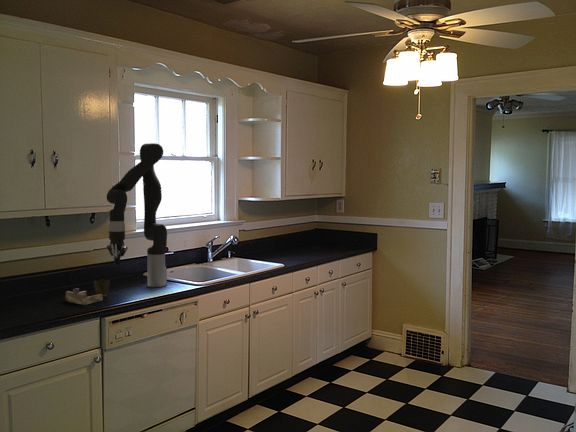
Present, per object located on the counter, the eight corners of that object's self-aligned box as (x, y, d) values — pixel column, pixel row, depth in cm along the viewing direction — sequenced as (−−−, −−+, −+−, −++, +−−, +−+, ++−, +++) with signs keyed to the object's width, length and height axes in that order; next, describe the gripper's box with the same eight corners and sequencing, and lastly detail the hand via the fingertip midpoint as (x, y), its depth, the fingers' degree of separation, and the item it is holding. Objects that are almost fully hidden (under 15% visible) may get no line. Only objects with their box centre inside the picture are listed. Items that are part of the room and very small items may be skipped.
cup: (104, 294, 276) (104, 278, 275) (113, 296, 271) (113, 280, 270) (91, 297, 270) (90, 280, 269) (99, 299, 265) (99, 282, 265)
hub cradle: (84, 297, 270) (84, 283, 269) (102, 300, 263) (102, 286, 262) (65, 301, 260) (64, 287, 260) (83, 305, 253) (83, 290, 253)
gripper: (132, 230, 276) (132, 265, 277) (113, 228, 283) (114, 262, 284) (120, 231, 269) (120, 267, 271) (101, 229, 276) (102, 264, 278)
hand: (117, 264), depth 277 cm, fingers closed
